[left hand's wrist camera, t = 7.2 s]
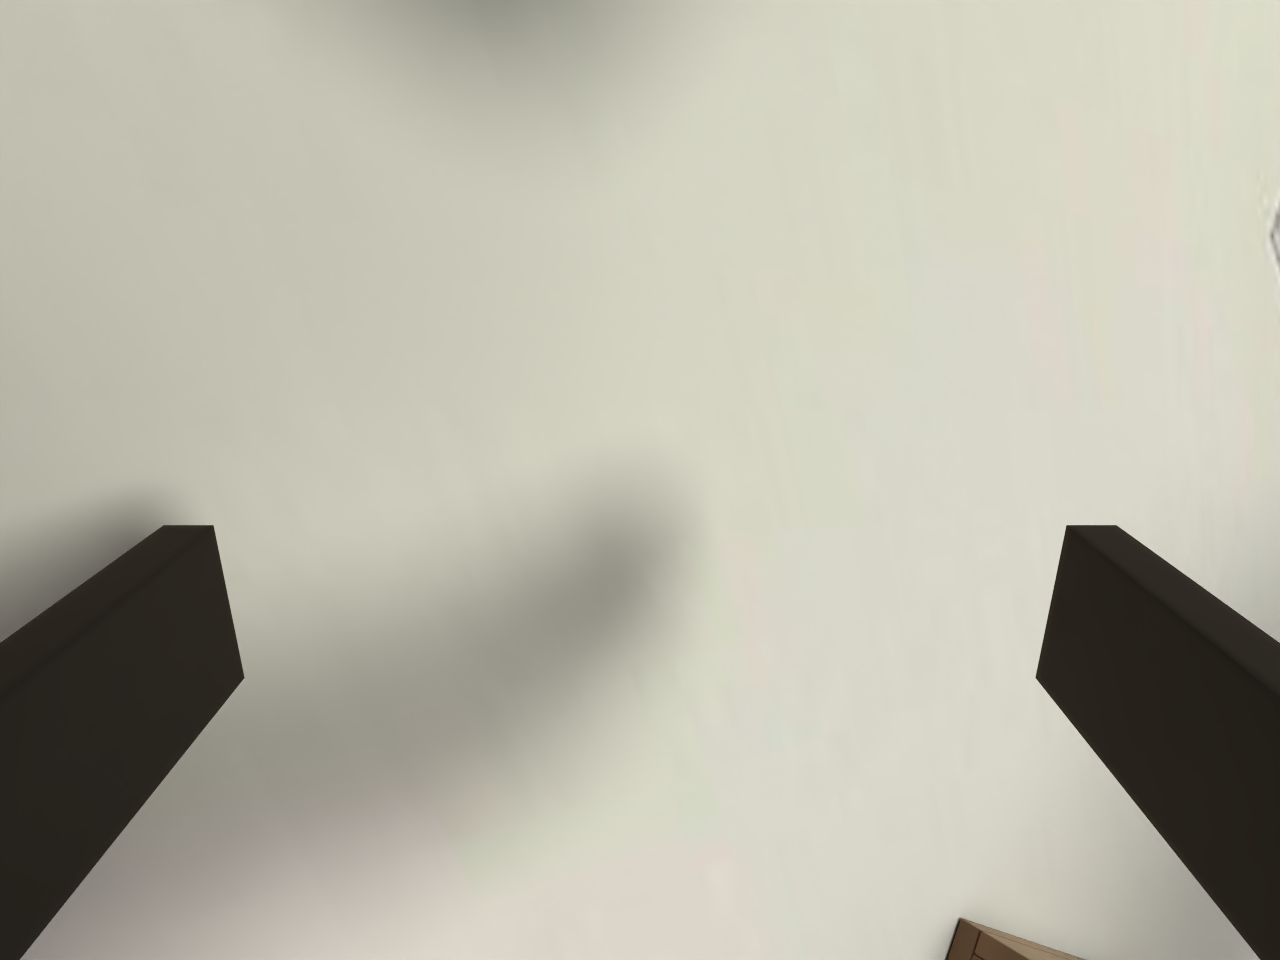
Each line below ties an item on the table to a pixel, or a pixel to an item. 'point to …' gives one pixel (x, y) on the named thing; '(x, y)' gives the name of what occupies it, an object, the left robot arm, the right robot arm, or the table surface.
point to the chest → (997, 946)
